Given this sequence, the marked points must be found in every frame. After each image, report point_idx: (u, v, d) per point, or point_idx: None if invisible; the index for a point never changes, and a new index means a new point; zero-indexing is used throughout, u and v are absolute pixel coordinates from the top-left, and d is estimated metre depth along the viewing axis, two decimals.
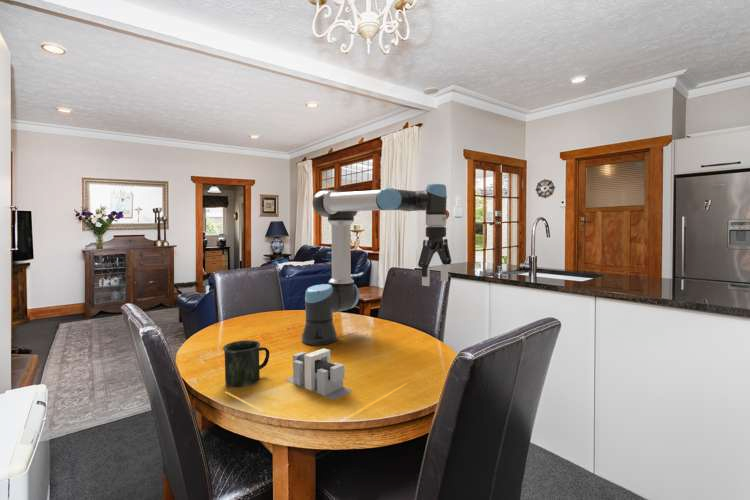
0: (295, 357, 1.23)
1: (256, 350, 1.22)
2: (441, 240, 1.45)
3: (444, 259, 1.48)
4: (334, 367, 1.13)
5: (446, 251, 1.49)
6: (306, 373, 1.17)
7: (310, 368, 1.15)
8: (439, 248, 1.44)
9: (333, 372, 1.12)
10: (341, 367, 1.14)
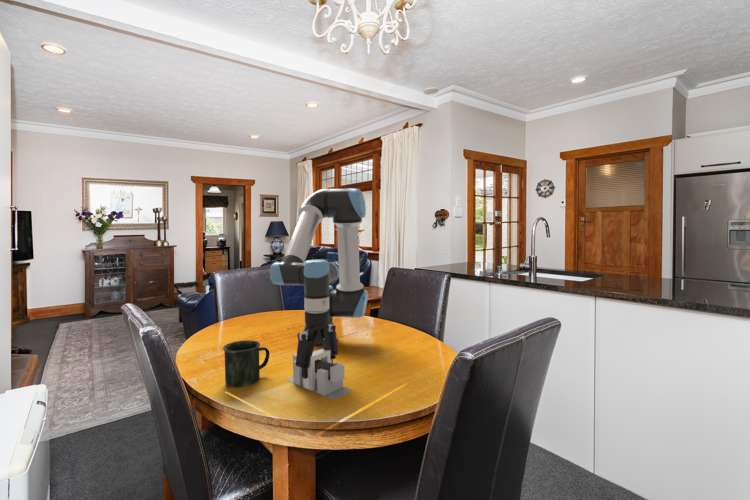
0: (295, 357, 1.23)
1: (256, 350, 1.22)
2: (325, 325, 1.20)
3: None
4: (334, 367, 1.13)
5: (332, 340, 1.23)
6: None
7: None
8: (322, 336, 1.19)
9: (333, 372, 1.12)
10: (341, 367, 1.14)
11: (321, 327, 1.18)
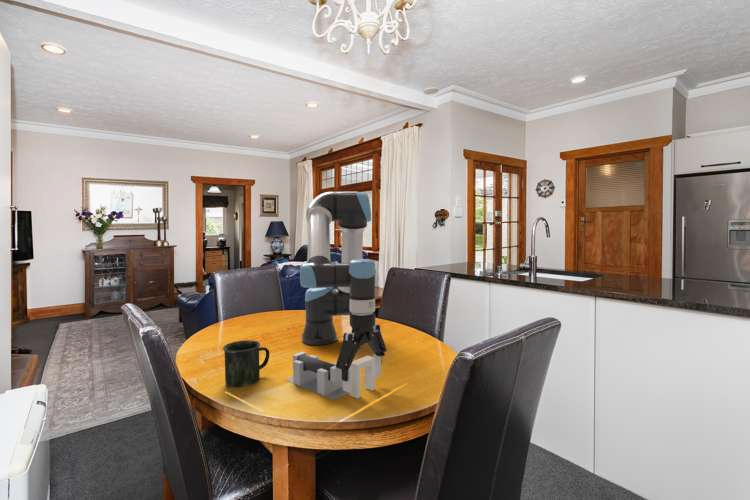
0: (295, 357, 1.23)
1: (256, 350, 1.22)
2: (370, 329, 1.15)
3: (376, 350, 1.18)
4: (334, 367, 1.13)
5: (379, 339, 1.19)
6: None
7: (356, 376, 1.11)
8: (367, 339, 1.14)
9: (333, 372, 1.12)
10: None
11: (366, 332, 1.13)
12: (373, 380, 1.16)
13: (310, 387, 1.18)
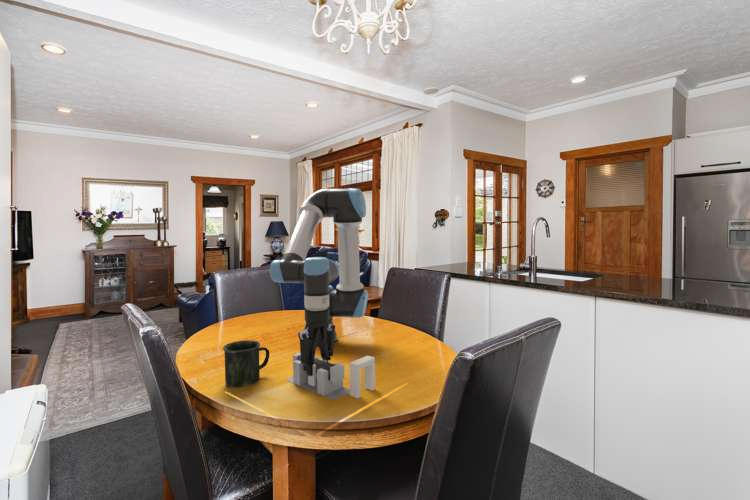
0: (295, 357, 1.23)
1: (256, 350, 1.22)
2: (326, 322, 1.20)
3: (324, 351, 1.20)
4: (334, 367, 1.13)
5: (329, 340, 1.22)
6: (351, 382, 1.12)
7: (356, 376, 1.11)
8: (322, 334, 1.19)
9: (333, 372, 1.12)
10: (341, 367, 1.14)
11: (321, 323, 1.18)
12: (373, 380, 1.16)
13: (310, 387, 1.18)
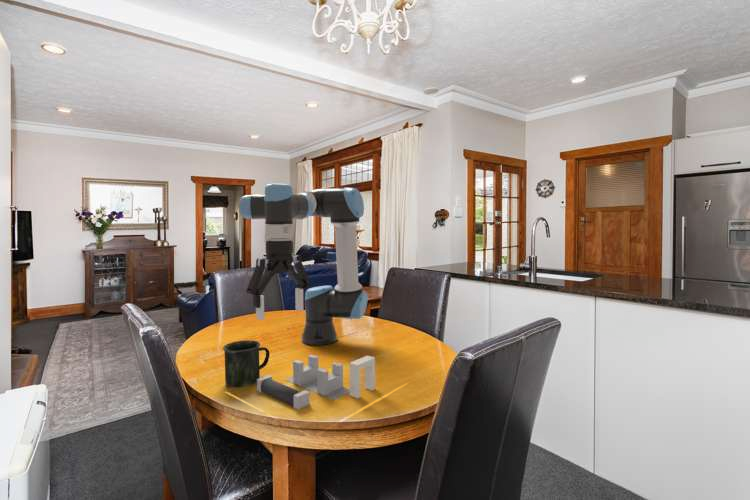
0: (259, 382, 1.15)
1: (256, 350, 1.22)
2: (288, 258, 1.10)
3: (297, 282, 1.14)
4: (298, 395, 1.05)
5: (300, 271, 1.14)
6: (351, 382, 1.12)
7: (356, 376, 1.11)
8: (284, 268, 1.09)
9: (297, 401, 1.04)
10: (305, 394, 1.06)
11: (284, 260, 1.09)
12: (373, 380, 1.16)
13: (310, 387, 1.18)
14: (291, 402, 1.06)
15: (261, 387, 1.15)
